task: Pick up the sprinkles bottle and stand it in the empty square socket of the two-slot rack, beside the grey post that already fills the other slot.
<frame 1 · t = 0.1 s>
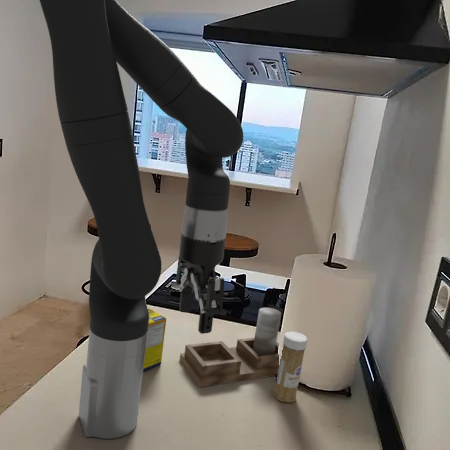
hand: (194, 321, 81), 17 cm above the worktop, tool pointing down, fingers open, 8 cm apart
supplement box: (141, 364, 98), on the worktop
rack: (236, 366, 102), on the worktop
sprinkles bottle: (284, 397, 93), on the worktop
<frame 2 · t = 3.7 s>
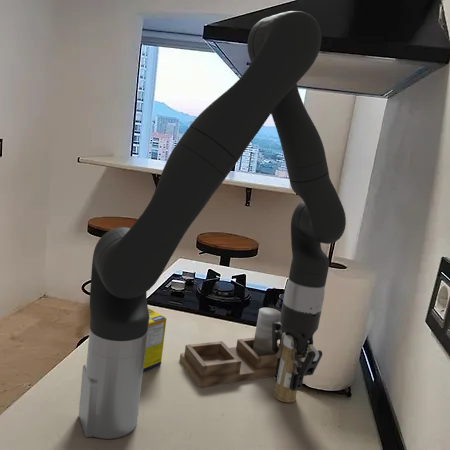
hand: (287, 382, 93), 3 cm above the worktop, tool pointing down, fingers closed on sprinkles bottle, 4 cm apart
sprinkles bottle: (284, 397, 93), on the worktop, touching gripper
everything else where it was.
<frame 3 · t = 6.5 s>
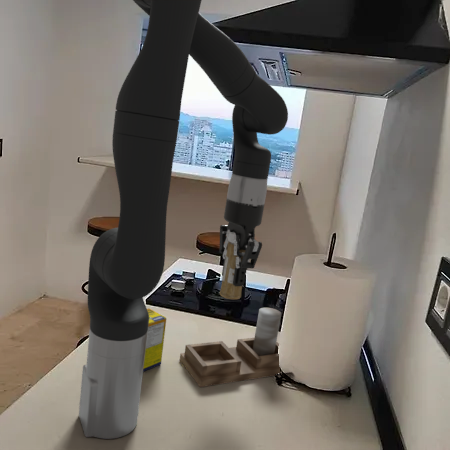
hand: (232, 280, 94), 21 cm above the worktop, tool pointing down, fingers closed on sprinkles bottle, 4 cm apart
sprinkles bottle: (229, 296, 95), point 17 cm above the worktop, touching gripper
everything else where it was.
when the fingers open (6 cm above the worktop, at t = 9.4 s): sprinkles bottle stays where it is, resting on rack.
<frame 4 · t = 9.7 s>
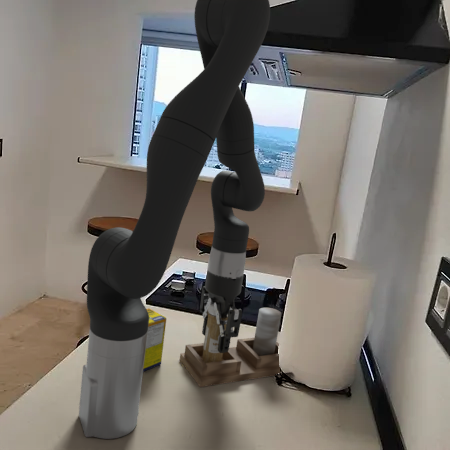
hand: (214, 342, 98), 6 cm above the worktop, tool pointing down, fingers open, 7 cm apart
sprinkles bottle: (211, 364, 99), point 1 cm above the worktop, touching rack
everything else where it was.
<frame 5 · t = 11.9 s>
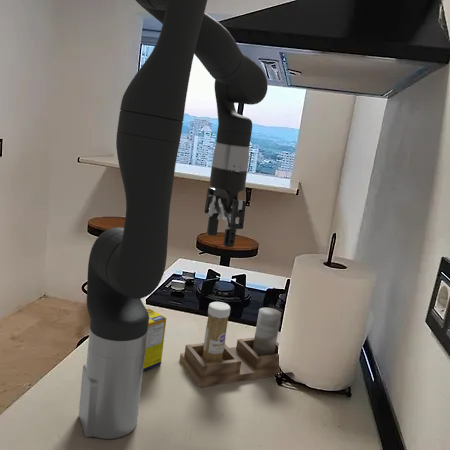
hand: (219, 240, 100), 27 cm above the worktop, tool pointing down, fingers open, 8 cm apart
nothing on the worktop moved.
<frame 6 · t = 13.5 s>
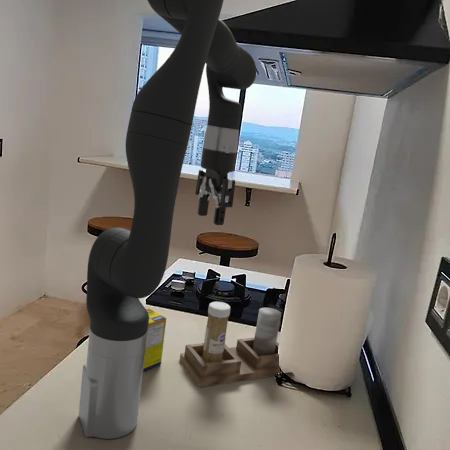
hand: (210, 219, 105), 30 cm above the worktop, tool pointing down, fingers open, 8 cm apart
nothing on the worktop moved.
at the end: sprinkles bottle 0.0 cm from the target spot on the rack, point 1.3 cm above the rack's base; sprinkles bottle tilted 0°; the gripper is holding nothing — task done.
